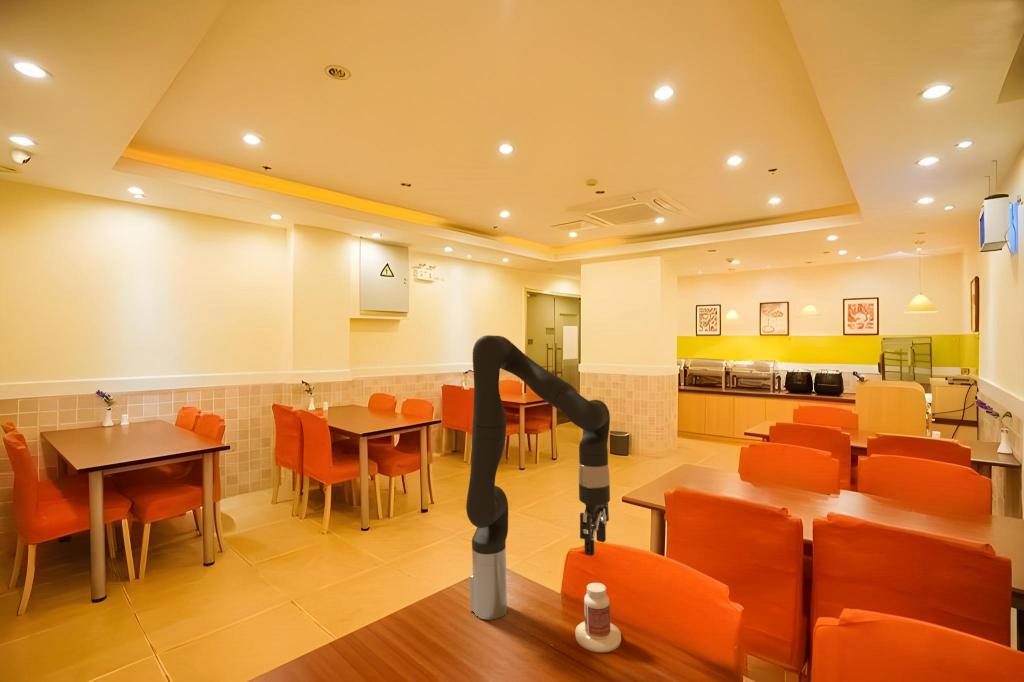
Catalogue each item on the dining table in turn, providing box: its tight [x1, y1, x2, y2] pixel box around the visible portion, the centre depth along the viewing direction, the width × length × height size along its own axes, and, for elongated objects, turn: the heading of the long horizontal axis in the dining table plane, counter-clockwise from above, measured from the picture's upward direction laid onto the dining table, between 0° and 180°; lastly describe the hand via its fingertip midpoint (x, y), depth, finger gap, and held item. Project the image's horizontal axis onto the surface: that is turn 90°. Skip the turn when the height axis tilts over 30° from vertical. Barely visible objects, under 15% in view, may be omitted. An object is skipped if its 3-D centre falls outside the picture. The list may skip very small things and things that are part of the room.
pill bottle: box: [583, 582, 611, 639], centre depth 114 cm, size 6×6×11 cm
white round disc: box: [574, 620, 622, 653], centre depth 114 cm, size 11×11×1 cm
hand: (595, 547), depth 114 cm, fingers open, 8 cm apart
